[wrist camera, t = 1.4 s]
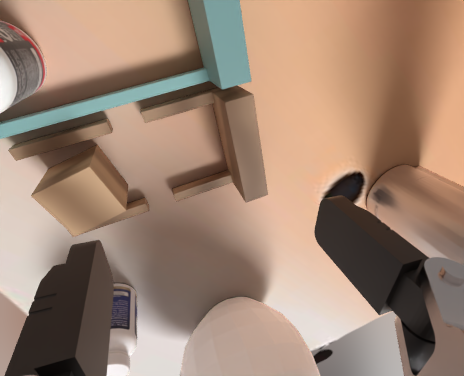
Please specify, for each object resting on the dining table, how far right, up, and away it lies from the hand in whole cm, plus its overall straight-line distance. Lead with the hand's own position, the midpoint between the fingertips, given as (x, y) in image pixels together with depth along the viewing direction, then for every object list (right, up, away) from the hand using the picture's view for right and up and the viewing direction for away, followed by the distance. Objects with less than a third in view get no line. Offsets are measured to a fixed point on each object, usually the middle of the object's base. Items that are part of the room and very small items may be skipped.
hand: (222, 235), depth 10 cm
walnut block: (-14, +3, +17) cm, 22 cm away
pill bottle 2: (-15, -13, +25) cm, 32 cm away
